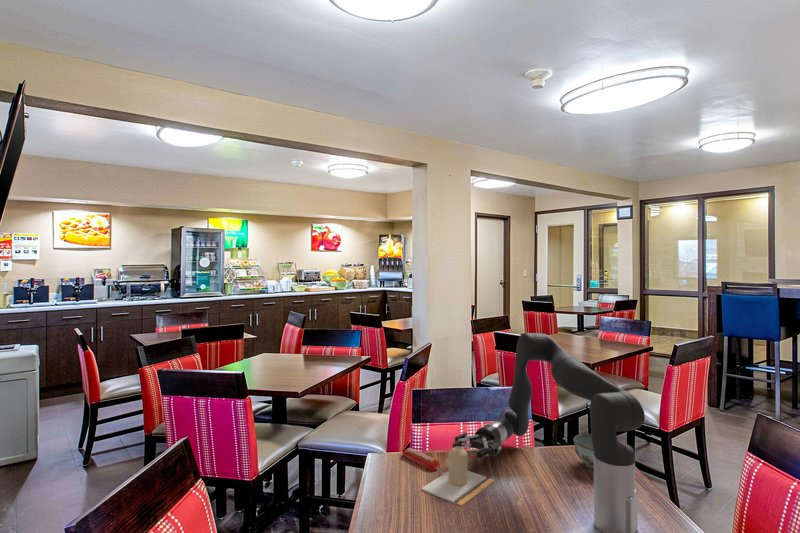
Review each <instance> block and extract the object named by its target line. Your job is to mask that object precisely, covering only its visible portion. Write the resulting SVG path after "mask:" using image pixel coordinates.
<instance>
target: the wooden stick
mask: <svg viewBox="0 0 800 533" xmlns="http://www.w3.org/2000/svg"><path fill="white" fill-rule="evenodd" d="M494 482H495V479H493V478H488V479H486V480H485V481H484V482H482V484H480V485H479V486H477V487H475V489H474V490H473V491H471V492H470V493H467V495H466V496H465V497H463V498H462V499H460V500H459V501H458V502H456V505H458V506H460V507H463V506H465V505H466V504H467V503H469V501H471V500H472V499H473V498H475V497H476V496H478V495H479V494H480V493H481V492H482V491H484V490H486V488H488V487H489V486H490V485H492V484H493V483H494Z"/></svg>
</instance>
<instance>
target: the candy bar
mask: <svg viewBox="0 0 800 533" xmlns="http://www.w3.org/2000/svg"><path fill="white" fill-rule="evenodd" d="M401 455H403V457H404V458H405V459H408V460H410V461H412V462H414V463H416V464H417V465H420V466H421V467H423V468H425V469H428V470H430V471H435V470H436V469H438V468H439V467H440V466H441V465H440V463H439V462H438V460H437V459H436V458H433V457H432V456H430V455H428V454H426V453H423V452H421V451H419V450H417V449H415V448H412V447H407V448H405V449H404V451H403V452H402V453H401Z"/></svg>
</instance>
